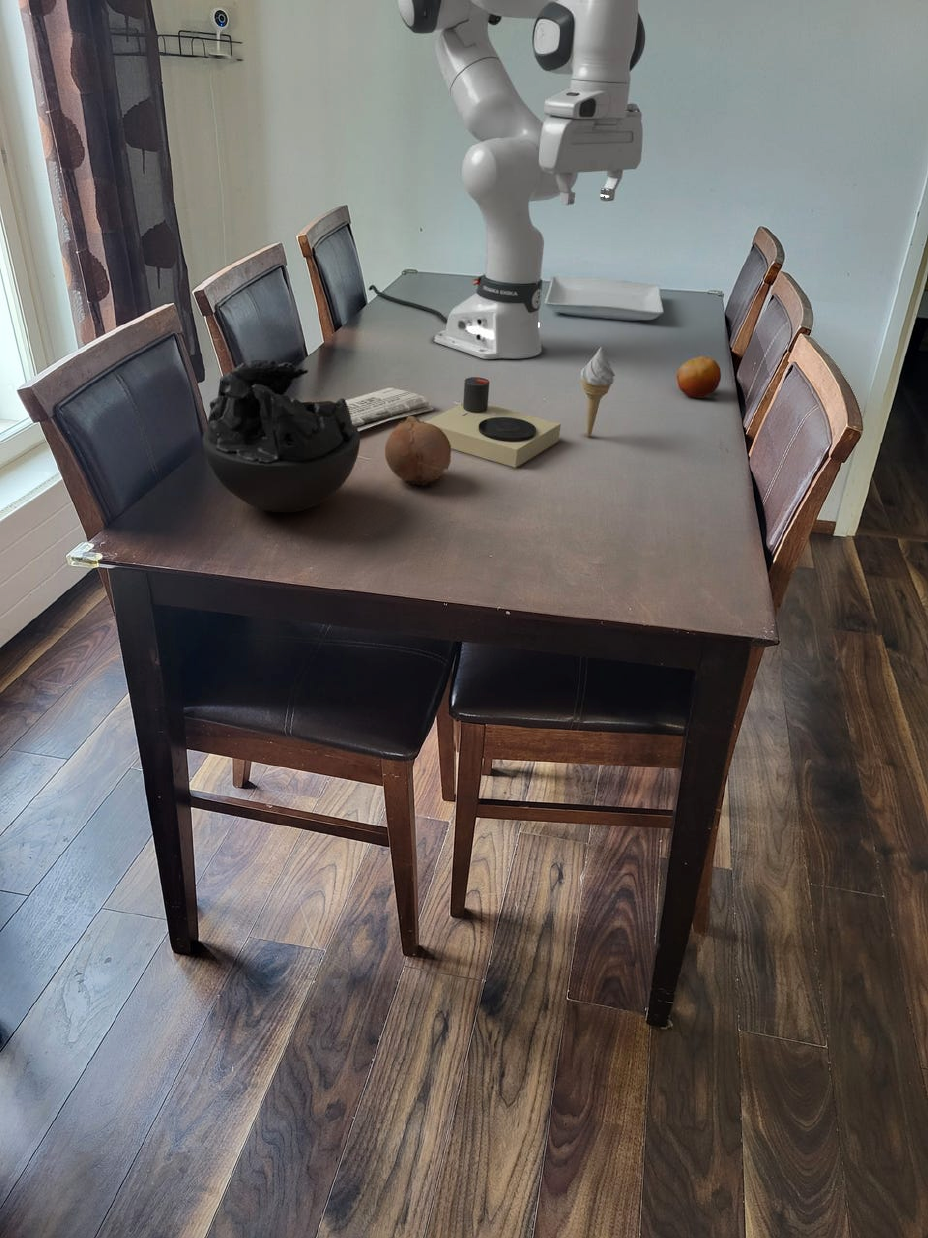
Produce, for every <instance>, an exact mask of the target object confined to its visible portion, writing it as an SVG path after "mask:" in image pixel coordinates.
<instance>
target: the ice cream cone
mask: <svg viewBox="0 0 928 1238" xmlns="http://www.w3.org/2000/svg"><path fill="white" fill-rule="evenodd" d="M579 374H580V381H581V384H582V390H583V392H584V393H585V395H586V396H587V409H586V410H587V411H586V414H587V415H586V437H587V438H590V437H591V436H592V433H593V429H594V425H595V423H596V422H595V421H596V418H597V415H598V410H599V407H600V402H601V399H602V398H604V396H605V395H607V394H608V393H609V390H610V387H611V386H612V385H613V383H614V380H615V376H616V374H615V372H614V370H613V368H612V367H611V365H610V363H609V360H608V359H607V357H606V354H605V352H604V349H603V346H602V345H601V346H600V348H599V349H598V350H597V352H596V353H595V354H594V356H593V357H592V358H591V359H590V360H589V362H587V364H586V365H585V366H584V367H583V368H582V369H581V371H580V372H579Z"/></svg>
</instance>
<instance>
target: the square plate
mask: <svg viewBox="0 0 928 1238" xmlns="http://www.w3.org/2000/svg"><path fill="white" fill-rule="evenodd" d="M544 305H545V306H546V307H547V308H548V309H549V310H551V311H552V312H555V313H561V314H563V315H566V316H571V317H573V316H574V317H582V318H583V317H584V318H595V319H604V320H605V319H606V320H613V321H614V320H616V321H625V322H639V321H651V320H655V319H657V318H658V317H660V316H662V314H664V313H665V310H664V306H663V302H662V297H661V287H660V286H659V285H658V284H653V283H644V282H635V281H629V280H621V279H620V280H619V279H610V278H597V277H584V276H583V277H582V276H581V277H580V276H563V275H561V276H560V275H552V276H550V280H549V286H548V290H547V293H546V296H545V300H544Z"/></svg>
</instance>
